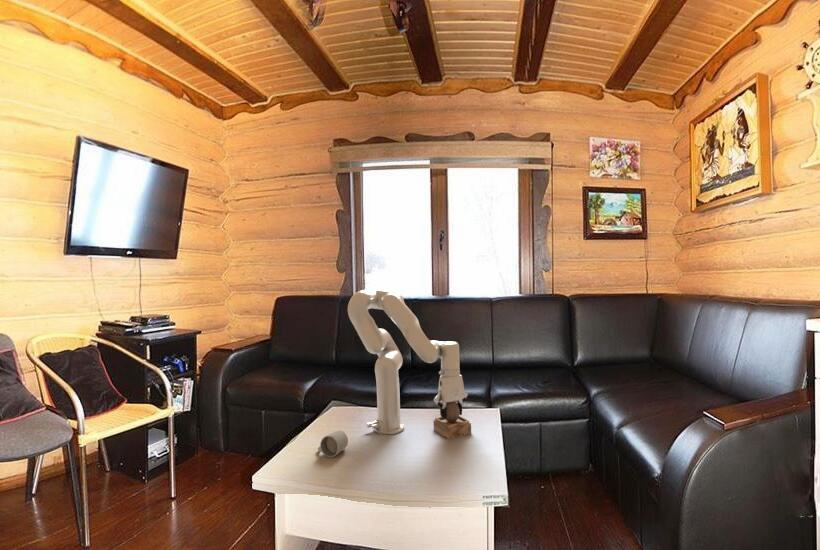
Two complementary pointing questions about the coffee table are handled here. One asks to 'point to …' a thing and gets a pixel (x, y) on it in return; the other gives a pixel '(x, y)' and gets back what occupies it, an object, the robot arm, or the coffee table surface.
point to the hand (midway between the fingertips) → (451, 415)
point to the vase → (452, 411)
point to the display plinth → (452, 427)
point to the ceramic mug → (333, 443)
